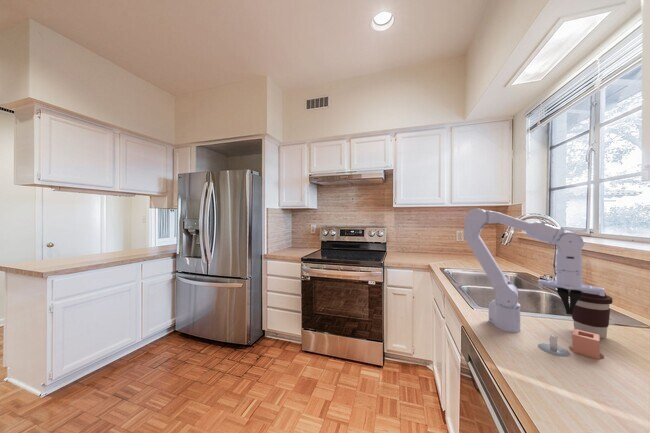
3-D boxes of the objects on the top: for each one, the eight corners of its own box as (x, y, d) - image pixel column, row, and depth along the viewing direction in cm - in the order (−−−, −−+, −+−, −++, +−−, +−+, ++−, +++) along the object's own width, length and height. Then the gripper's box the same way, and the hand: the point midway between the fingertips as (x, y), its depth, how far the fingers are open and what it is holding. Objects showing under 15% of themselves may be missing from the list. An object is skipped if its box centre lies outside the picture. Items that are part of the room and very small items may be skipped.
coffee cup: (598, 344, 75) (597, 295, 75) (561, 329, 85) (560, 286, 85) (621, 340, 78) (620, 293, 77) (582, 326, 87) (582, 284, 87)
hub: (562, 348, 74) (561, 332, 74) (584, 347, 74) (584, 331, 74) (587, 362, 67) (587, 344, 67) (612, 361, 67) (612, 344, 67)
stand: (531, 346, 75) (531, 330, 75) (554, 345, 75) (553, 330, 75) (553, 359, 68) (553, 342, 68) (577, 359, 68) (577, 342, 68)
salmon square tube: (572, 351, 70) (572, 334, 70) (573, 344, 74) (573, 328, 74) (599, 359, 66) (599, 341, 66) (599, 351, 70) (599, 334, 70)
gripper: (536, 268, 79) (537, 310, 79) (605, 276, 68) (605, 324, 68) (539, 265, 83) (539, 304, 83) (603, 272, 73) (604, 317, 73)
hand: (569, 313), depth 76 cm, fingers closed
